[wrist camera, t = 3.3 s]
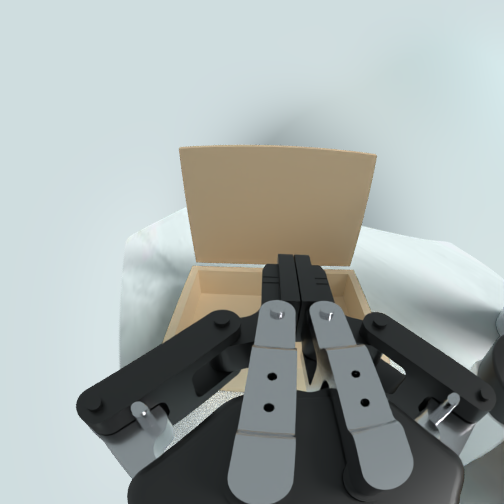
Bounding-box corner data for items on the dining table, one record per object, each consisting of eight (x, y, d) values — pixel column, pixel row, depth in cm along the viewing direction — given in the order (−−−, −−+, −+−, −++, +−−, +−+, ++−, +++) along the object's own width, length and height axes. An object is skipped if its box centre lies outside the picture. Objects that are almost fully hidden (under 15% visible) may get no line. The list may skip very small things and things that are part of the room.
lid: (376, 155, 26) (375, 153, 26) (179, 148, 26) (180, 146, 27) (349, 266, 36) (348, 263, 36) (196, 262, 37) (197, 259, 37)
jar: (430, 484, 13) (518, 428, 7) (411, 420, 20) (474, 343, 14) (489, 451, 13) (564, 385, 7) (468, 398, 20) (526, 324, 14)
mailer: (375, 387, 24) (390, 362, 22) (167, 384, 25) (156, 359, 23) (347, 295, 38) (353, 269, 36) (196, 291, 39) (192, 265, 37)
